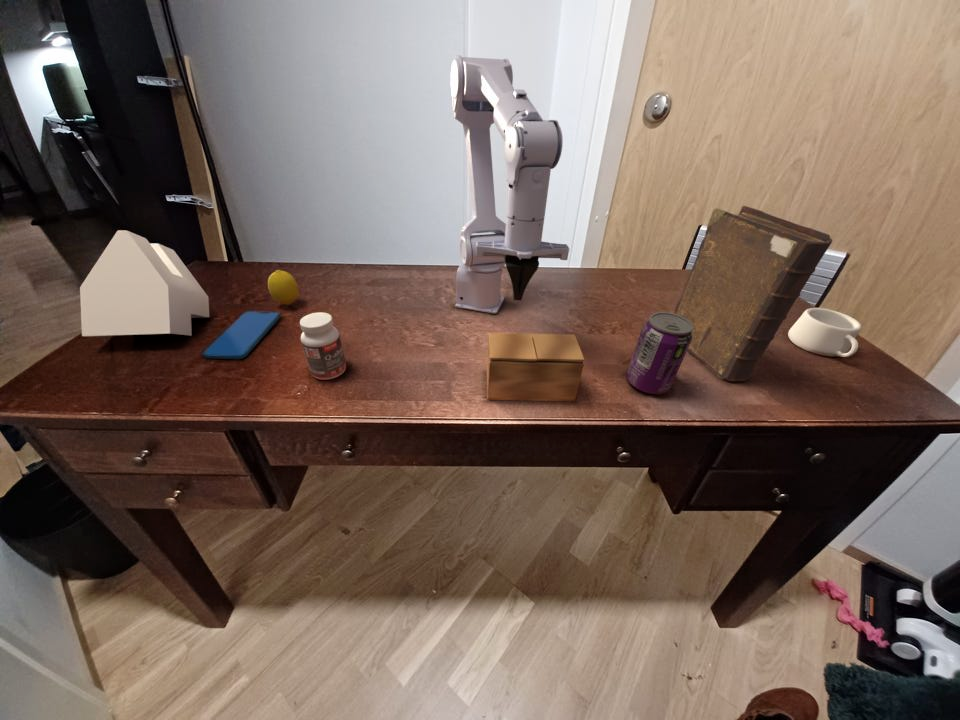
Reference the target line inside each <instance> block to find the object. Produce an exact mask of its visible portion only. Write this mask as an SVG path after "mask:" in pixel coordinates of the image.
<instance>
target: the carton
mask: <svg viewBox="0 0 960 720" xmlns="http://www.w3.org/2000/svg"><path fill="white" fill-rule="evenodd" d="M531 335H532V339H533V343H534V348H535V352H536V357H537V361H528V362H523V361H503V360H490V345H489V336H488V338H487V356H486V396H487V401H523V402H524V401H527V402H530V401H532V402H533V401H534V402H575V401H576V398H577V393H578V390H579V385H580V381H581V378H582V374H583V370H584V366H585V364H584V363H585V357H584V354H583V352H582V350H581V347H580V344H579V342H578V340H577V337H576V336H575V334H567V333H566V334H562V333H561V334H560V333H531Z"/></svg>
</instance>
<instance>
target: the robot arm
mask: <svg viewBox="0 0 960 720" xmlns="http://www.w3.org/2000/svg"><path fill="white" fill-rule="evenodd" d="M450 68H451V69H450V92H451V105H452V111H453V116H454V119H455V120H456V121H458V122H459V123H461V125H462V128H463V133H464V134H463V135H464V139H465V151H466V152H465V153H466V161H467V173H468V185H469V196H470V197H469V198H470V208H471V219H469V220H468V221H467V222H466V223H465V224H464V225H463V226H462V228H461V229H460V232H459V239H460V242H459V255H460V259H461V262H460V264H459V265H458V268H457V271H456V278H455V297H456V298H455V299H456V300H455V301H456V303H455V307H456V308H459V309H465V310H469V311H470V310H471V311H476V312H482V313H488V314H493V315H496V314H497V313H498V311H499V310H500V308H501V306H502V304H503V303H504V300H505V296H503V295H501V287H502V286H501V285H502V272H503V269H505V268H506V270H507V273H508V276H509V278H510V281H511V287H512V299H513V301H522V300H523V297H524V295H525V291H526V289H527V288H528V287H527V286H528V285H529V283H530V282H531V280H532V278H533V276H534V275H535V273H536V272H537V271H538V270H539V266H540V261H539V259H559V260H560V261H568V259H569V258H568V257H569V253H570V248H569V245H568V244H566V243H555V242H548V241H542V240H543V231H544V224H545V217H546V209H547V202H548V196H549V195H548V194H549V186H550V179H551V170H553V169H555V168H556V167H557V165H558V163H559V162H560V159H561V156H562V152H563V143H564V142H563V141H564V140H563V138H564V137H563V131H562V127H561V126H560V124H559V123H560V122H559V121H558V120H557V119H543V117H542V115H540V113H539V111H538V110H537V109H536V107H535V106H534V104H533V103H532V101H531V100H530V98H529V97H528V94H527V92H526V90H525V89H519V88H517V89H515V88H514V86H513V82H514V75H513V73H514V72H513V66H512V64H511V62H510V60H509V59H508V58H488V57H487V58H486V57H485V58H484V57H471V56H462V55H456V56H455V57H454V59H453V61H452V63H451V67H450ZM493 124H494V125H495V127H496V129H497V131H498V132H499V134H500V136H501V138H502V140H503V141H504V143H503V144H504V146H503V147H504V149H503V151H504V161H505V180H506V182H508V187H507V188H508V189H507V202H506V203H507V204H506V217H505V218H506V219H505V222H504V221H503V220H502V219H500V217H498V216H497V213H496V212H497V211H496V200H495V199H496V198H495V186H494V185H495V184H494V170H493V156H492V144H491V126H492V125H493Z"/></svg>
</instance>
